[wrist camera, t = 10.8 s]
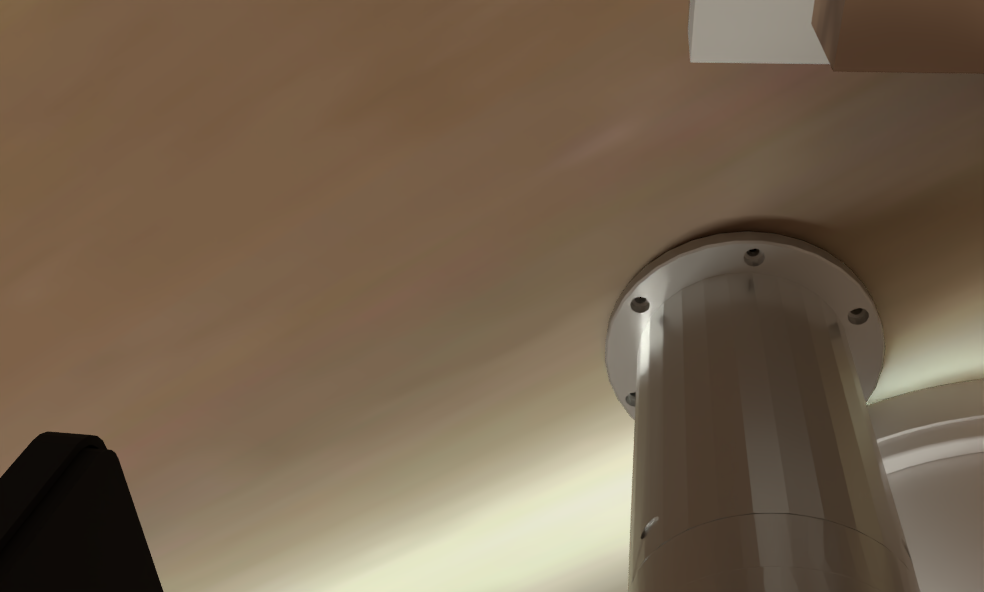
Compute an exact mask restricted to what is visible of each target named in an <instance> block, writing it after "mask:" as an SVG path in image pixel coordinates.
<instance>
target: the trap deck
mask: <svg viewBox="0 0 984 592" xmlns="http://www.w3.org/2000/svg"><path fill="white" fill-rule="evenodd" d="M814 1H815V0H690V10H689V23H688V37H689V51H690V62H708V63H786V64H830V63H829V61H828V59H827V57H826V55H825V52H824V50H823V48H822V46H821V44H820V42H819V40H818V37H817V35H816V33H815V31H814V29H813V27H812V24H811V22H812V15H813V8H814Z"/></svg>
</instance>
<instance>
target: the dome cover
mask: <svg viewBox="0 0 984 592" xmlns="http://www.w3.org/2000/svg"><path fill="white" fill-rule="evenodd" d="M867 409H868V412H869V416H870V419H871V423H872V426H873V430H874V433H875V437H876V440H877V444H878V447H879V450H880V454H881V457H882V461H883V464H884V468H885V471H886V475H887V478H888V482H889V485H890V488H891V492H892V495H893V499H894V502H895V505H896V509H897V512H898V515H899V519H900V522H901V526H902V529H903V532H904V536H905V539H906V543H907V546H908V549H909V553H910V556H911V559H912V563H913V567H914V570H915V574H916V578H917V581H918V585H919V589H920V591H921V592H984V379H982V380H973V381H966V382H959V383H952V384H946V385H941V386H936V387H931V388H927V389H922V390H917V391H913V392H909V393H906V394H902V395H899V396H895V397H892V398H888V399H885V400H882V401H879V402H876V403H874V404H871V405H868V406H867Z"/></svg>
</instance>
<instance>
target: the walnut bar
mask: <svg viewBox="0 0 984 592" xmlns="http://www.w3.org/2000/svg"><path fill="white" fill-rule="evenodd" d="M811 24H812V27H813V29H814V31H815V33H816V35H817V37H818V40H819V42H820V44H821V46H822V48H823V50H824V52H825V55H826V57H827V59H828V61H829V63H830V65H831V67H832V70H833V71H837V72H910V73H982V74H984V0H815V1H814V8H813V15H812V22H811Z"/></svg>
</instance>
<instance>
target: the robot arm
mask: <svg viewBox="0 0 984 592" xmlns="http://www.w3.org/2000/svg"><path fill="white" fill-rule="evenodd" d="M750 249H757V250H756V251H753V252H751V251H749V250H750ZM637 297H643V298H637ZM884 351H885V342H884V335H883V328H882V323H881V320H880V317H879V314H878V311H877V309H876V306H875V303H874V301H873V300H872V298H871V296H870V294H869V293H868V291H867V289H866V287H865V285H864V284H863V283H862V282H861V280H860V279H859V278H858V277H857V276H856V275H855V274H854V273H853V272H852V271H851V270H850V268H849V267H848V266H846V265H845V264H844V263H842V262H841V261H839V260H838V259H837V258H835V257H834V256H832V255H831V254H830V253H828V252H827V251H825V250H822V249H820V248H818V247H816V246H814V245H811V244H809V243H807V242H805V241H803V240H799V239H795V238H791V237H787V236H783V235H779V234H774V233H762V232H750V231H746V232H733V233H721V234H716V235H712V236H708V237H704V238H700V239H696V240H692V241H690V242H688V243H685V244H683V245H681V246H679V247H676V248H674V249H672V250H669V251H667V252H666V253H664V254H663V255H661V256H660V257H658V258H657V259H655V260H654V261H652V262H651V263H649V264H648V265H646V266H645V267H644V268H643V269H642V270H641V271H640V272H639V273H638V274H637V275H636V276H635V277H634V278H633V279H632V280H631V281H630V282H629V283H628V285H627V286H626V288H625V289H624V291H623V292H622V294H621V295H620V297H619V298H618V300H617V301H616V304H615V306H614V309H613V311H612V314H611V316H610V319H609V323H608V329H607V336H606V347H605V363H606V368H607V373H608V378H609V382H610V384H611V386H612V388H613V390H614V393H615V395H616V397H617V399H618V401H619V402H620V403H621V405H622V406H623V407H624V409H625V410H626V411H627V413H628V414H629V416H630V417H631V418H633V419H634V420H635V428H634V452H633V476H632V500H631V524H630V548H629V572H628V592H921V591H920V589H919V585H918V581H917V578H916V574H915V570H914V567H913V563H912V559H911V556H910V553H909V549H908V546H907V543H906V539H905V536H904V532H903V529H902V526H901V522H900V519H899V515H898V512H897V509H896V505H895V502H894V499H893V495H892V492H891V488H890V485H889V482H888V478H887V475H886V471H885V468H884V464H883V461H882V457H881V454H880V450H879V447H878V444H877V440H876V437H875V433H874V430H873V426H872V423H871V419H870V416H869V412H868V409H867V406H866V402H867V400H868V399H869V397H870V396H871V394H872V392H873V391H874V389H875V388H876V385H877V382H878V379H879V376H880V374H881V371H882V368H883V361H884ZM0 592H163V589H162V586H161V583H160V580H159V577H158V574H157V571H156V568H155V566H154V563H153V560H152V557H151V554H150V551H149V548H148V545H147V542H146V539H145V536H144V533H143V530H142V527H141V524H140V521H139V518H138V515H137V512H136V509H135V506H134V503H133V500H132V497H131V495H130V492H129V489H128V486H127V483H126V480H125V477H124V474H123V471H122V468H121V465H120V462H119V459H118V457H117V455H116V453H115V452H113V451H112V450H107V448H106V446H105V444H104V442H103V440H101V439H100V438H99V437H98V436H94V435H83V434H71V433H59V432H45V433H42V434H40V435H38V436H37V437H36V438H35V439H34V440H33V441H32V442H31V443H30V444H29V445H28V447H27V448H26V449H25V450H24V451H23V452H22V453H21V455H20V456H19V457H18V458H17V459H16V460H15V462H14V463H13V464H12V465H11V466H10V467H9V469H8V470H7V471H6V472H5V473H4V474H3V475H2V477H1V478H0Z"/></svg>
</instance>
